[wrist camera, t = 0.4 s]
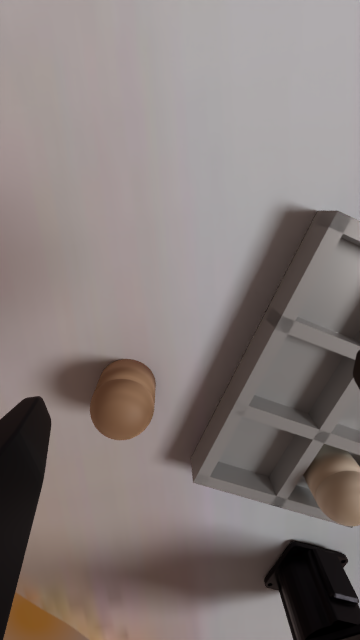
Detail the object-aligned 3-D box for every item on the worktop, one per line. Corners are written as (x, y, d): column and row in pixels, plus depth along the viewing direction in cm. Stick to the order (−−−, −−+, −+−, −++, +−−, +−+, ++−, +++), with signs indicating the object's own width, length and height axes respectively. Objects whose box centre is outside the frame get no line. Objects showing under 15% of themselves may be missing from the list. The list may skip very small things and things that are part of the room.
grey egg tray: (336, 501, 30) (351, 527, 27) (190, 458, 27) (193, 482, 25) (490, 290, 23) (528, 300, 21) (317, 210, 21) (337, 210, 19)
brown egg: (144, 414, 26) (139, 462, 21) (92, 398, 25) (74, 443, 20) (163, 369, 25) (163, 409, 20) (109, 351, 24) (94, 387, 19)
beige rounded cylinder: (333, 488, 28) (368, 546, 23) (291, 475, 28) (317, 532, 23) (359, 451, 27) (402, 504, 22) (316, 436, 26) (350, 488, 21)
